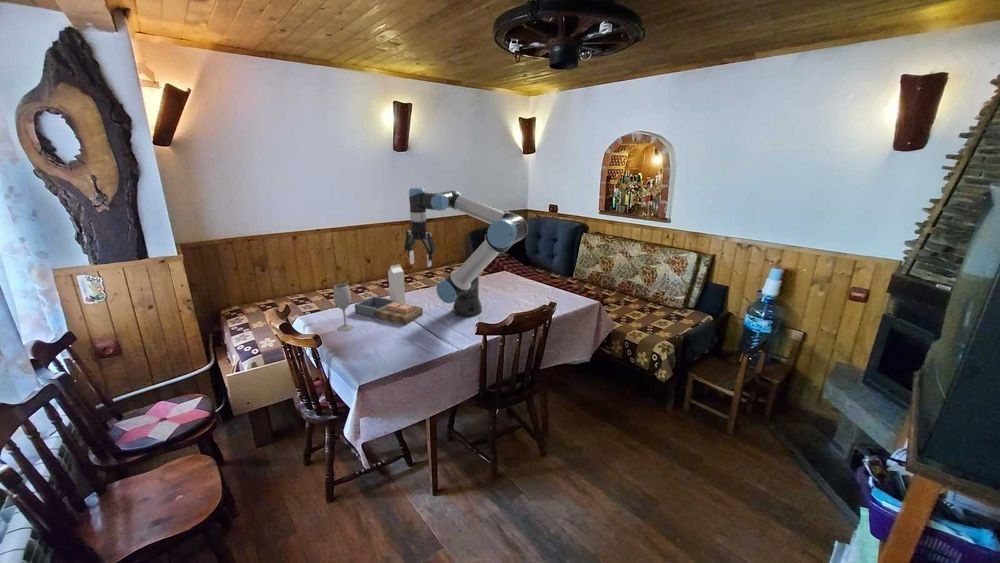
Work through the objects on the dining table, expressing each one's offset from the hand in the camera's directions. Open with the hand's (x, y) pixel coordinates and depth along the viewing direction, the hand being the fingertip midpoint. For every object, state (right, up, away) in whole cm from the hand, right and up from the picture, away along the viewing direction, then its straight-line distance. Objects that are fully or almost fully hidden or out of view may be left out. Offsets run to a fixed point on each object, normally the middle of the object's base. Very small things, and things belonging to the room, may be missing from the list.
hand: (420, 264), depth 196 cm
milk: (-16, -21, +19) cm, 32 cm away
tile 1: (-14, -22, +2) cm, 26 cm away
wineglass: (-33, -30, -11) cm, 46 cm away
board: (-11, -26, +2) cm, 28 cm away
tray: (-25, -24, +8) cm, 36 cm away
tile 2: (-8, -23, -1) cm, 24 cm away
